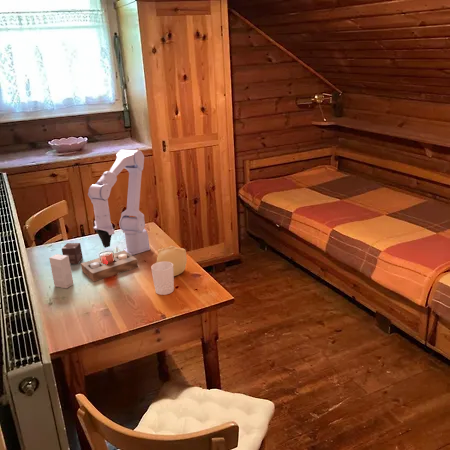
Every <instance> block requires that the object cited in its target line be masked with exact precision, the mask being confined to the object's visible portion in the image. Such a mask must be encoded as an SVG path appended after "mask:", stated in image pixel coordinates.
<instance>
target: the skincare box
mask: <svg viewBox="0 0 450 450" xmlns="http://www.w3.org/2000/svg"><path fill="white" fill-rule="evenodd" d="M49 263H50V269H51V274H52V278H53V279H52V280H53V285H54V287H56V288H57V287H58V288H62V289H68V288H70V287H72V286H73V285H74V278H73V273H72V268H71V264H70V262H69V256H67V255H63V254H59V253H56V254H54V255H52V256H50V257H49Z"/></svg>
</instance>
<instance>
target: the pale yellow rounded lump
mask: <svg viewBox="0 0 450 450" xmlns="http://www.w3.org/2000/svg"><path fill="white" fill-rule="evenodd" d="M157 252H158V255H157V258H156V263H157V262H162V261H167V262H171V263H172V264H173V272H174V277H176V276H178V275H180V274H182V273H184V271H185V270H186V266H187V262H188V261H187V259H188V258H187V250H186V248H183V247H177V246H176V245H169V246H166V247H163V248H158V250H157Z"/></svg>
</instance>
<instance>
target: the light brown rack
mask: <svg viewBox="0 0 450 450" xmlns="http://www.w3.org/2000/svg"><path fill="white" fill-rule="evenodd" d="M113 254H114V262H113V263H110V264H107V265H106V264H103V263H101V261H100V258H101V257H98V258H94V259H92V260H88V261H85V262H81V263H80V266H81V271H82V272H83V273H84V274H85V275H86V276H87V277H88V278H89V279H90V280H92V281H93V282H96V281H97V282H98V281H100V280H102V279H106V278H110V277H112V276H115V275H117V274H121V273H124V272H127V271H130V270H133V269H136V268H138V267H139V264H138V258H136V257H135V256H134V255H130V254H129V253H127V252H126V251H124V250H121V251H118V252H115V253H113ZM120 254H126V255H127V258H126V259H123V260H119V259H118V255H120ZM94 262H98V263H99V265H100V267H97V268H94V269H91V266H90V264H91V263H94Z"/></svg>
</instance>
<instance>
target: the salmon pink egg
mask: <svg viewBox="0 0 450 450" xmlns="http://www.w3.org/2000/svg"><path fill="white" fill-rule="evenodd" d="M110 253H111V254H110V255H108V256H105V257H106V260H107V261H108V264H110V263H113V262H114V261H113V254H114V253H112V252H110Z"/></svg>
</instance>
